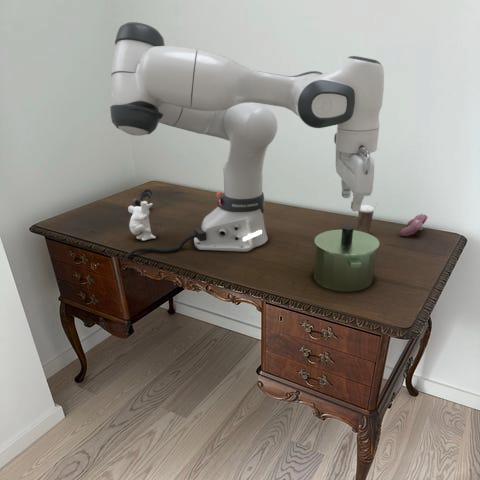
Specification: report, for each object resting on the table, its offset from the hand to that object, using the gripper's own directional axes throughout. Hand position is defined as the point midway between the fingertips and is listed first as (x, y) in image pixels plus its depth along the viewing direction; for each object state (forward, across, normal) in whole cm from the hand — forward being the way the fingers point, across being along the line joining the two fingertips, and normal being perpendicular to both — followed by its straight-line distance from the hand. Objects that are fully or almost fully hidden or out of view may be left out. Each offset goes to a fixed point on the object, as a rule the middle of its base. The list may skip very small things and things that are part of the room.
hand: (350, 203), depth 109 cm
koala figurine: (+20, +32, +55) cm, 67 cm away
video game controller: (+20, +28, -28) cm, 44 cm away
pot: (+20, 0, 0) cm, 20 cm away
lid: (+10, 0, 0) cm, 10 cm away
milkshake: (+20, +28, -13) cm, 37 cm away
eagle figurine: (+20, +60, +59) cm, 86 cm away
